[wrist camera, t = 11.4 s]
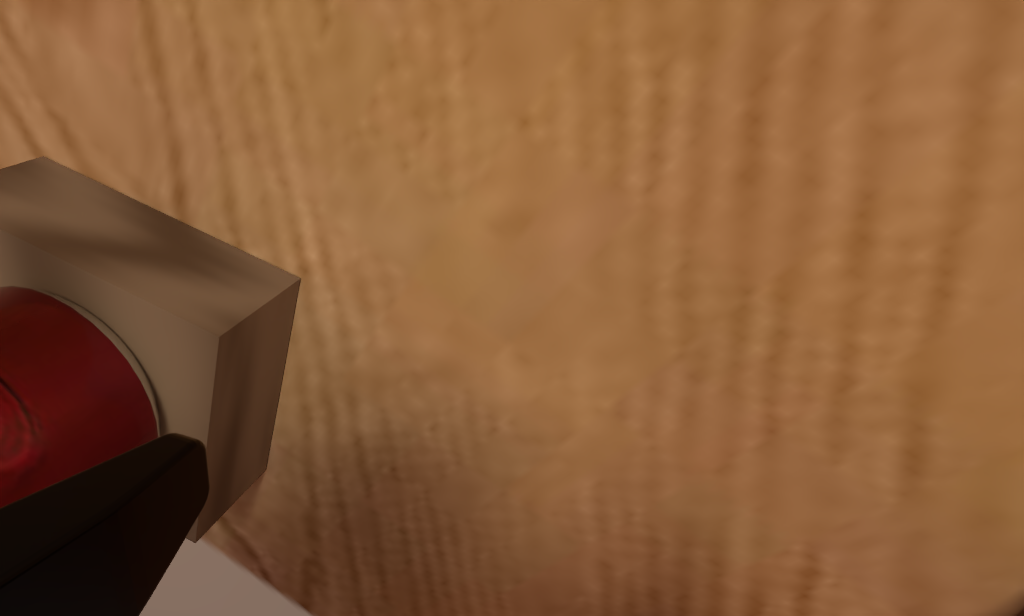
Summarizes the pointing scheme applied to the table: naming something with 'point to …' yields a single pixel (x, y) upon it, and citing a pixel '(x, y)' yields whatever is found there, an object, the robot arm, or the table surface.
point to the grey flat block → (161, 310)
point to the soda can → (64, 393)
